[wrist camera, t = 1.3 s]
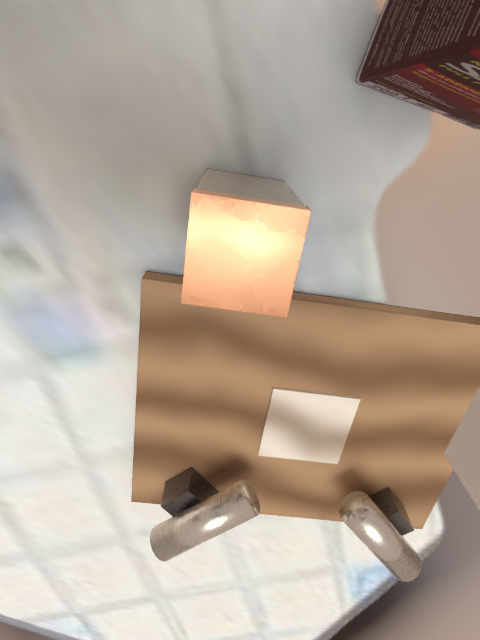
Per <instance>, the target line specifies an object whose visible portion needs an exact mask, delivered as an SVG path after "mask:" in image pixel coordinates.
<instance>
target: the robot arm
mask: <svg viewBox="0 0 480 640" xmlns="http://www.w3.org/2000/svg"><path fill="white" fill-rule="evenodd" d="M444 455H445V456H446V458H447V460H448V461H449V463H450V464H451V466H452V468H453V469H454V471H455V472H456V474H457V475H458V477H459V478H460V480H461V482H462V483H463V485H464V487H465V488H466V490H467V491H468V493H469V494H470V496H471V498H472V499H473V501H474V503H475V504H476V506H477V507H478V509H479V510H480V386H479V388H478V390H477V392H476V394H475V395H474V397H473V399H472V401H471V403H470V405H469V407H468V409H467V411H466V413H465V414H464V416H463V418H462V420H461V422H460V424H459V426H458V428H457V430H456V432H455V433H454V435H453V437H452V439H451V441H450V443H449V445H448V447H447V449H446V451H445V453H444Z"/></svg>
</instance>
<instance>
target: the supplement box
mask: <svg viewBox="0 0 480 640" xmlns="http://www.w3.org/2000/svg"><path fill="white" fill-rule="evenodd" d="M356 82H357V83H358V84H361V85H364V86H367V87H370V88H372V89H375V90H378V91H380V92H383V93H385V94H388V95H391V96H394V97H396V98H399V99H402V100H405V101H407V102H410V103H413V104H415V105H418V106H421V107H423V108H426V109H428V110H431V111H433V112H436V113H438V114H441V115H443V116H446V117H448V118H450V119H453V120H455V121H457V122H460V123H462V124H465V125H467V126H469V127H472V128H474V129H480V0H386V2H385V5H384V7H383V10H382V13H381V15H380V18H379V21H378V23H377V26H376V28H375V31H374V34H373V36H372V39H371V42H370V44H369V47H368V49H367V52H366V55H365V57H364V60H363V62H362V65H361V68H360V70H359V73H358V76H357V78H356Z"/></svg>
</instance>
